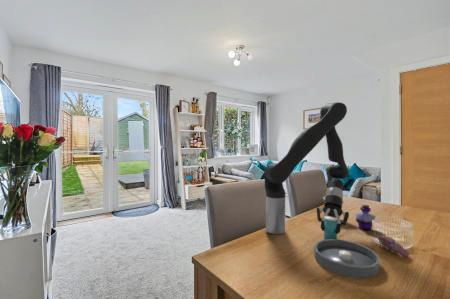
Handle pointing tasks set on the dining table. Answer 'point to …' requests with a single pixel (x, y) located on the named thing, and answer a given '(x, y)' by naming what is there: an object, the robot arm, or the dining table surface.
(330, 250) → the groove tray
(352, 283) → the dining table surface
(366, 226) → the potion bottle
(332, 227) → the bead jar
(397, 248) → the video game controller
